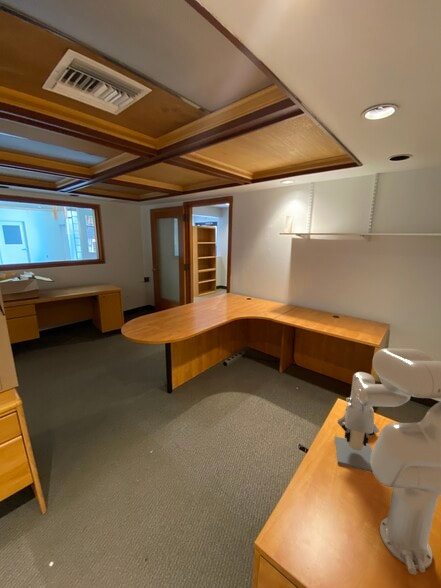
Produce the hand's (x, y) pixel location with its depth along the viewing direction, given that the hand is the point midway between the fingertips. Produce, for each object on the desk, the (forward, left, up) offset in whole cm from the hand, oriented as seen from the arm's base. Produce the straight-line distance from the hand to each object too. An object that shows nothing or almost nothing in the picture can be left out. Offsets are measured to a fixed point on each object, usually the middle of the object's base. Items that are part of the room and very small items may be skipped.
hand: (355, 441), depth 104 cm
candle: (0, 0, -2) cm, 2 cm away
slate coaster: (0, 0, -7) cm, 7 cm away
